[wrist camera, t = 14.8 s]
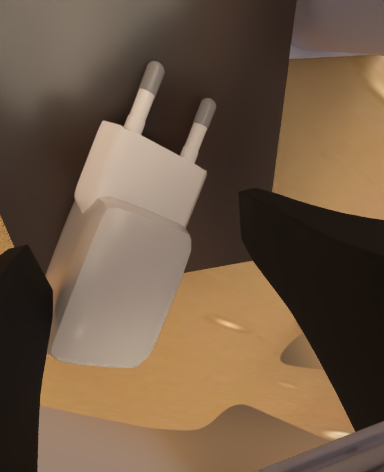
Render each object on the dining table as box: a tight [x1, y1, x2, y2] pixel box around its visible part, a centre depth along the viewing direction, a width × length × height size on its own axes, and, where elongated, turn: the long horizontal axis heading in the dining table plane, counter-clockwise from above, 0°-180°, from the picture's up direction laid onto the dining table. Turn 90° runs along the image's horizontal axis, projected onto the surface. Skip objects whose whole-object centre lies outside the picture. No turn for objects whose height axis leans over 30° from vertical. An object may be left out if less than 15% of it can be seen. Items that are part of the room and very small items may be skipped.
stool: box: [0, 0, 297, 275], centre depth 17 cm, size 14×14×5 cm
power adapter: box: [45, 61, 216, 368], centre depth 13 cm, size 11×5×6 cm, turn 149°
